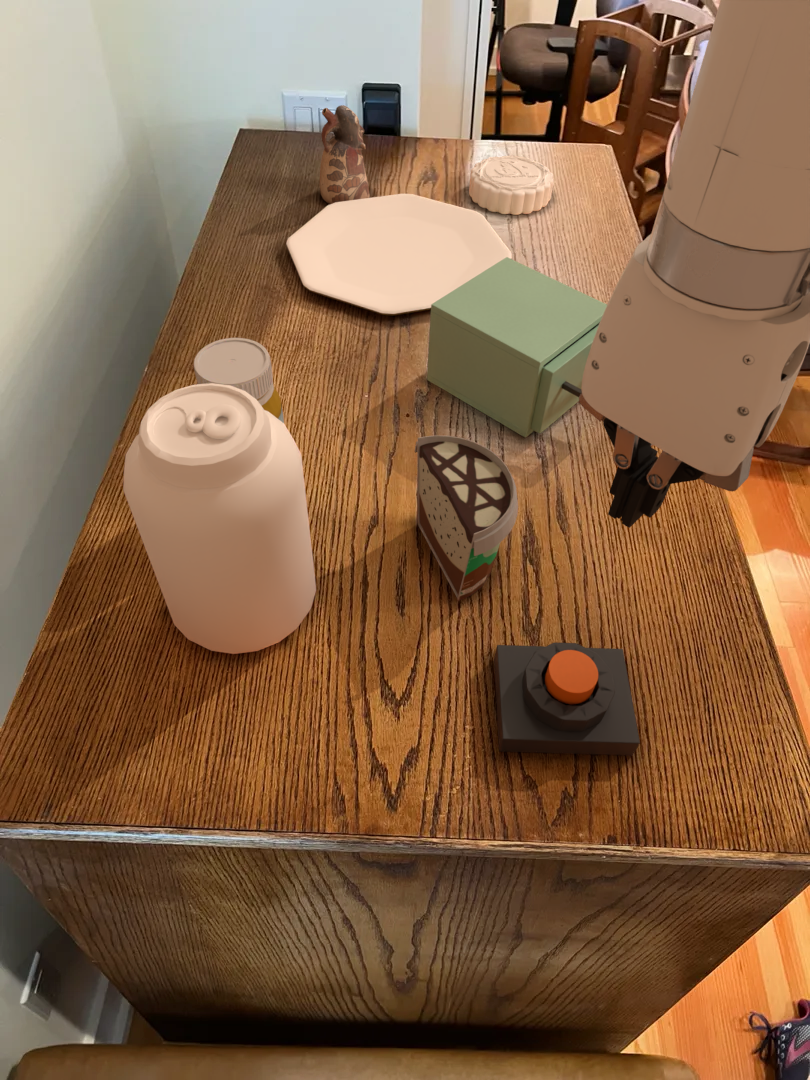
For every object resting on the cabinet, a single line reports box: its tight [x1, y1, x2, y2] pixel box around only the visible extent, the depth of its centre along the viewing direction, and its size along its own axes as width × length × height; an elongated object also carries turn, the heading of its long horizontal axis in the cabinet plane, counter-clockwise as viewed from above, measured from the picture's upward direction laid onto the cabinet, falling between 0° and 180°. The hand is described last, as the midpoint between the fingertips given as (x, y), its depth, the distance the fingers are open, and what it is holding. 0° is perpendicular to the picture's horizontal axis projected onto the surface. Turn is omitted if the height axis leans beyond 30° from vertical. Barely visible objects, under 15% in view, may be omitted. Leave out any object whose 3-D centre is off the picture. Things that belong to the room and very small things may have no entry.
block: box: [493, 642, 641, 757], centre depth 58 cm, size 10×8×4 cm
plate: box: [285, 193, 513, 317], centre depth 100 cm, size 28×28×2 cm
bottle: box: [193, 337, 285, 424], centre depth 68 cm, size 7×7×15 cm
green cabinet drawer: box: [531, 325, 604, 435], centre depth 80 cm, size 17×11×8 cm
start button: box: [545, 650, 598, 704], centre depth 56 cm, size 4×4×2 cm
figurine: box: [318, 104, 371, 205], centre depth 107 cm, size 7×7×12 cm
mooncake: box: [468, 154, 555, 216], centre depth 111 cm, size 12×12×4 cm
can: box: [122, 383, 317, 655], centre depth 58 cm, size 12×12×20 cm
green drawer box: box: [426, 257, 608, 439], centre depth 81 cm, size 14×13×10 cm
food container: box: [414, 434, 519, 602], centre depth 66 cm, size 12×6×10 cm, turn 22°
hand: (630, 509), depth 50 cm, fingers closed
